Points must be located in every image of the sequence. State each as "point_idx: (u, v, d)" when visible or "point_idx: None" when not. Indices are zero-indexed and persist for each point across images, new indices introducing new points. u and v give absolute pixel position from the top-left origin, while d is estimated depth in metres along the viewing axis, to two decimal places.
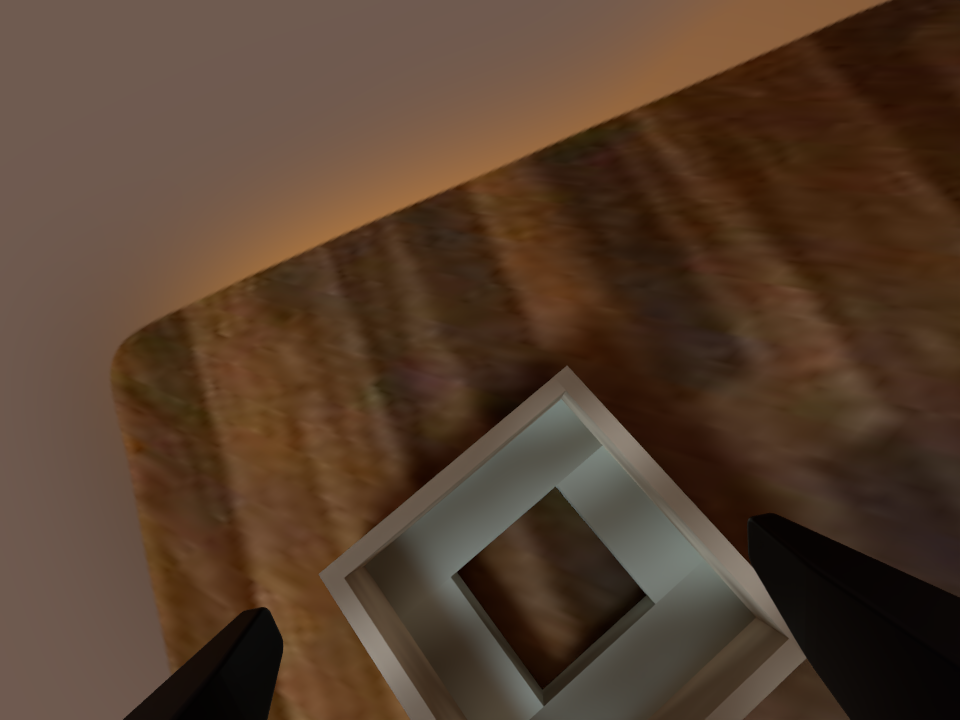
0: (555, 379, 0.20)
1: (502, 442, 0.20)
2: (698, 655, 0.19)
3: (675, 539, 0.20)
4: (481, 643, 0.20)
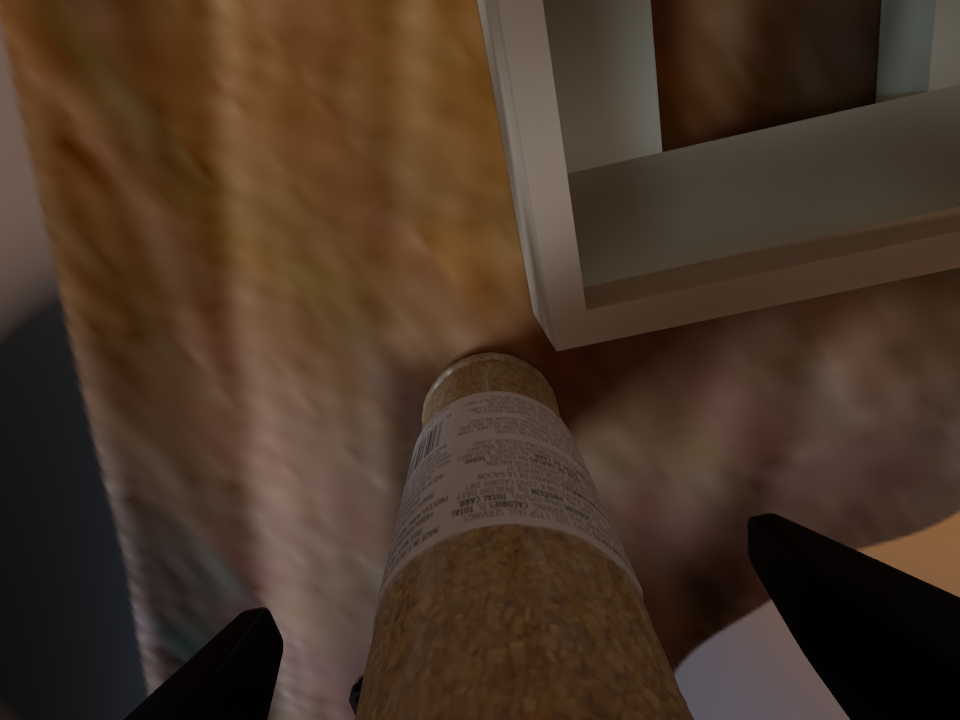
0: None
1: None
2: (918, 198, 0.12)
3: None
4: None
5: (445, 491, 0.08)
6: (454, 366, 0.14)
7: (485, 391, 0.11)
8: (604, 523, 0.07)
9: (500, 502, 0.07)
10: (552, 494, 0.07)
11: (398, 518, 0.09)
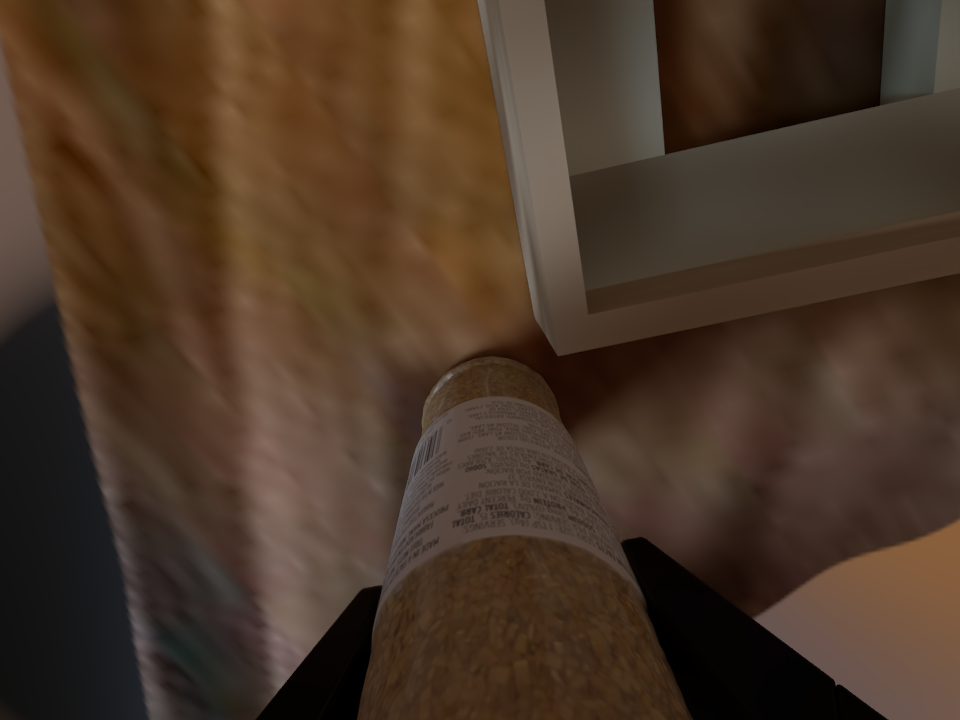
0: None
1: None
2: (923, 201, 0.12)
3: None
4: None
5: (446, 500, 0.07)
6: (454, 370, 0.14)
7: (486, 396, 0.11)
8: (608, 533, 0.07)
9: (502, 512, 0.07)
10: (555, 503, 0.07)
11: (397, 527, 0.08)
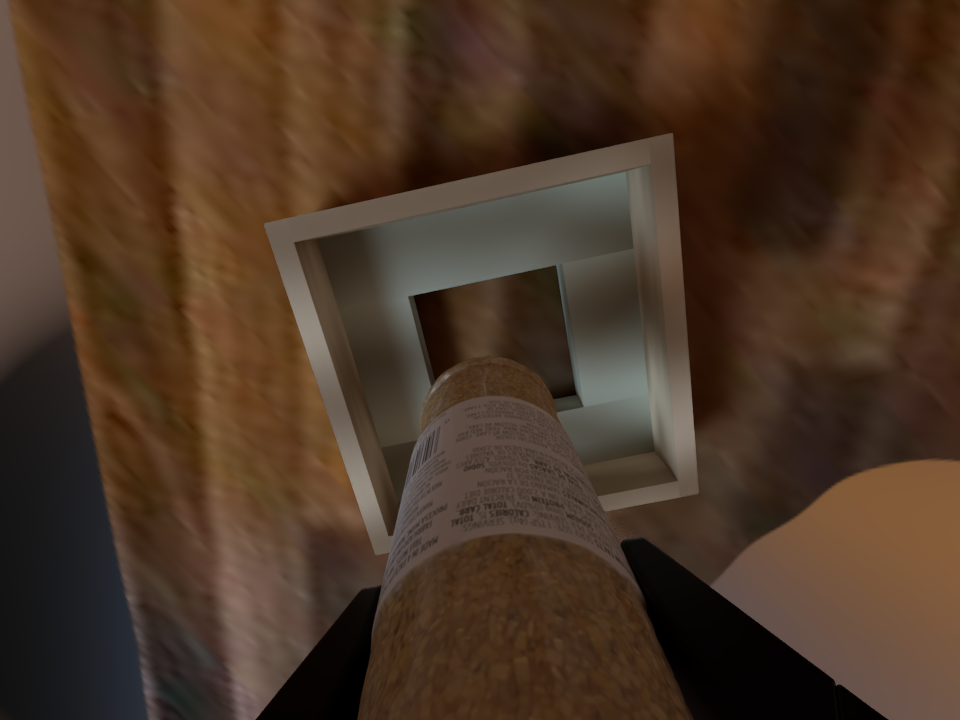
0: (648, 142, 0.15)
1: (543, 186, 0.15)
2: (591, 455, 0.21)
3: (636, 367, 0.20)
4: (412, 366, 0.19)
5: (445, 499, 0.07)
6: (451, 370, 0.14)
7: (483, 396, 0.11)
8: (606, 530, 0.07)
9: (501, 510, 0.07)
10: (553, 501, 0.07)
11: (396, 526, 0.08)
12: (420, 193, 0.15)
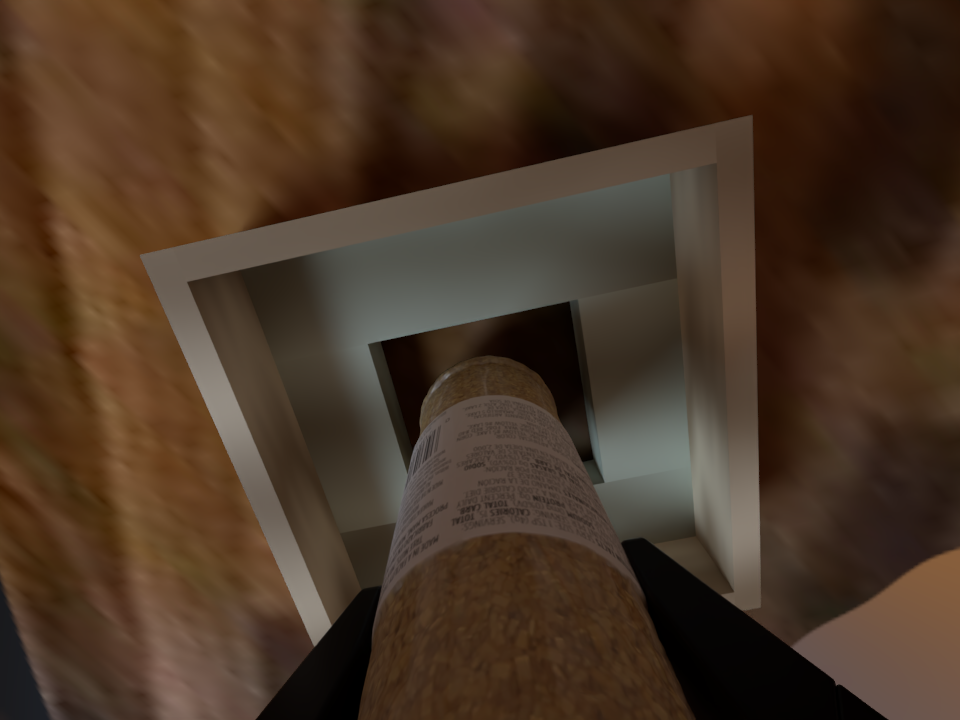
0: (714, 130, 0.10)
1: (553, 197, 0.10)
2: None
3: (676, 433, 0.15)
4: (376, 433, 0.15)
5: (445, 498, 0.07)
6: (452, 370, 0.14)
7: (484, 395, 0.11)
8: (606, 529, 0.07)
9: (502, 509, 0.07)
10: (553, 500, 0.07)
11: (396, 526, 0.08)
12: (369, 209, 0.10)
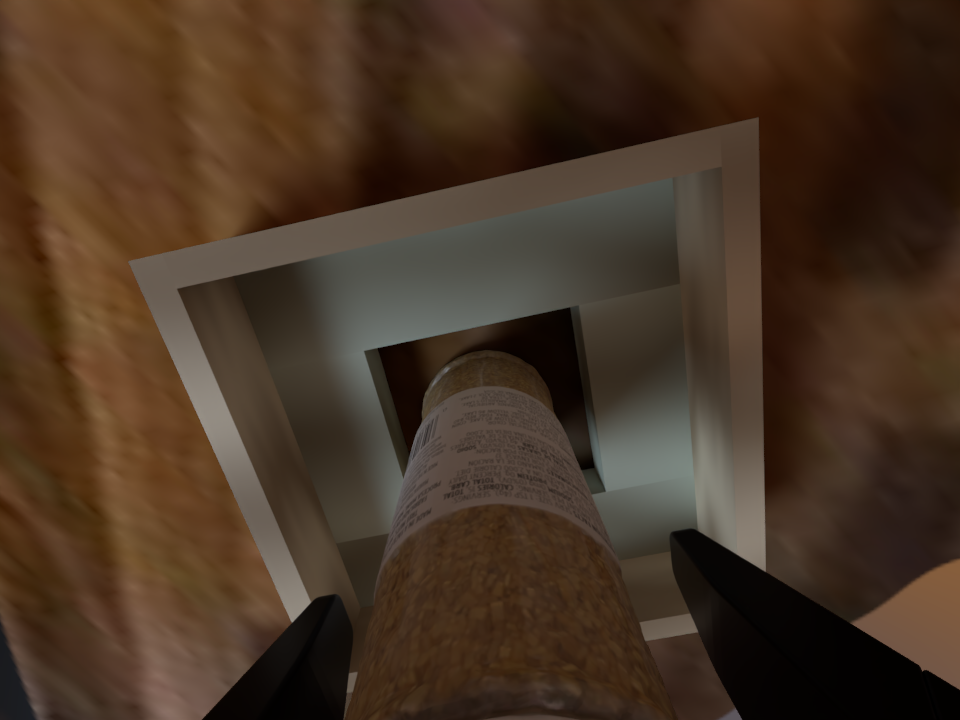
0: (719, 133, 0.09)
1: (554, 201, 0.10)
2: None
3: (679, 441, 0.14)
4: (373, 442, 0.14)
5: (438, 477, 0.08)
6: (451, 364, 0.14)
7: (479, 386, 0.12)
8: (586, 504, 0.08)
9: (488, 484, 0.07)
10: (537, 478, 0.08)
11: (397, 505, 0.09)
12: (365, 214, 0.10)
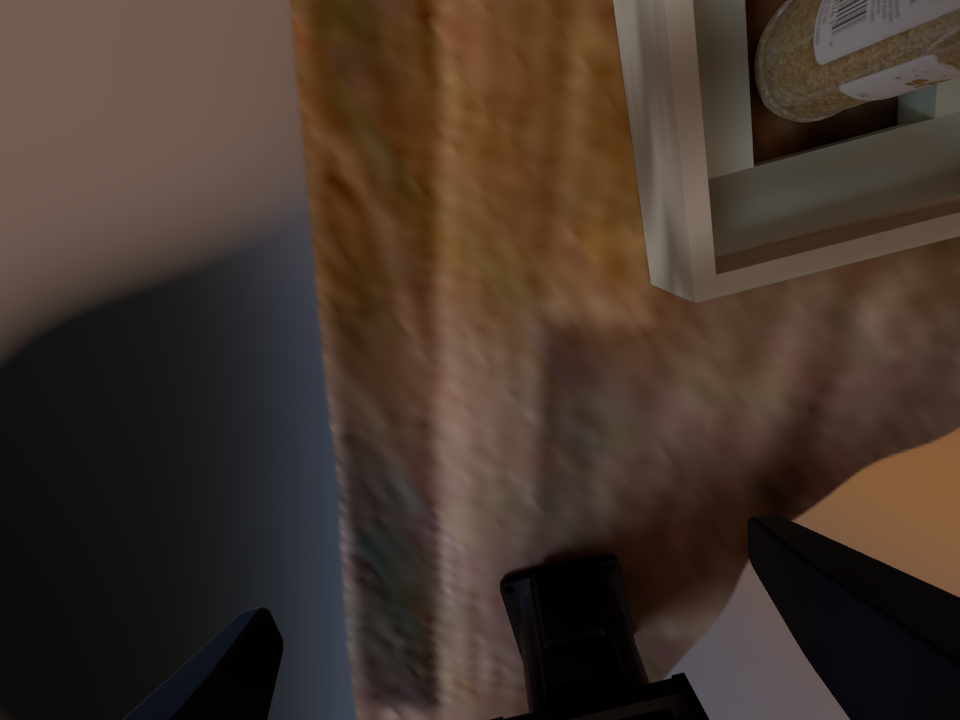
0: None
1: None
2: (929, 190, 0.17)
3: None
4: (731, 65, 0.15)
5: None
6: None
7: None
8: None
9: None
10: None
11: None
12: None
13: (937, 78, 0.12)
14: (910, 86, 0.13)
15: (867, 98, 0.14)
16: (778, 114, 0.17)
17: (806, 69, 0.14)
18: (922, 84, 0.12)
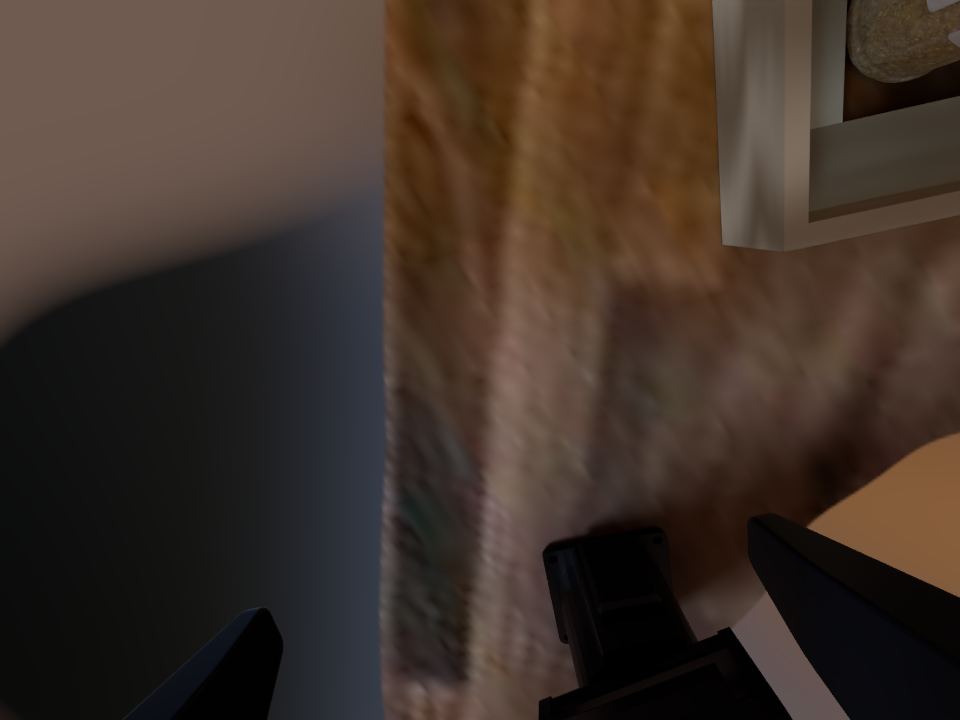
0: None
1: None
2: None
3: None
4: (829, 14, 0.15)
5: None
6: None
7: None
8: None
9: None
10: None
11: None
12: None
13: None
14: None
15: None
16: (866, 73, 0.17)
17: (912, 19, 0.14)
18: None
